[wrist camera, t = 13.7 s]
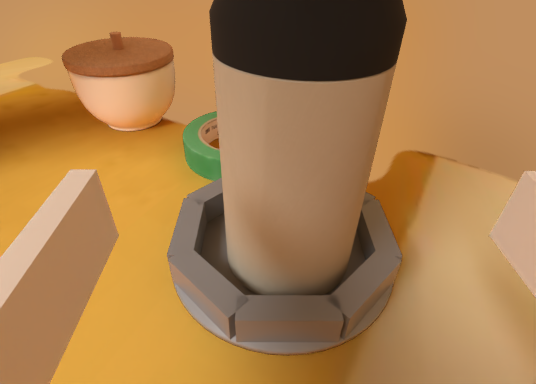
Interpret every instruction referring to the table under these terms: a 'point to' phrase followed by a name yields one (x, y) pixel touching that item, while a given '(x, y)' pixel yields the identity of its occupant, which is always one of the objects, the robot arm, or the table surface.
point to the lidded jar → (123, 79)
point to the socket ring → (278, 306)
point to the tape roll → (203, 146)
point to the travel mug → (299, 131)
